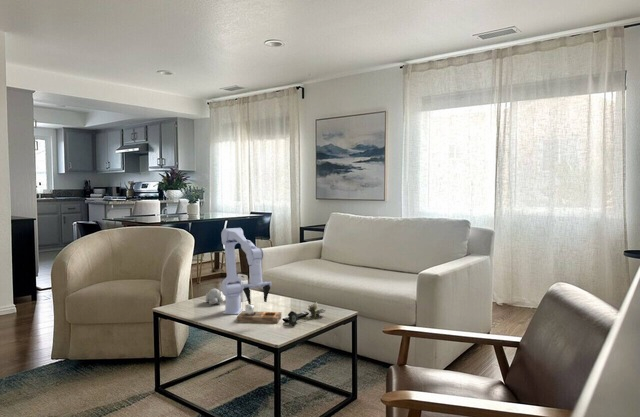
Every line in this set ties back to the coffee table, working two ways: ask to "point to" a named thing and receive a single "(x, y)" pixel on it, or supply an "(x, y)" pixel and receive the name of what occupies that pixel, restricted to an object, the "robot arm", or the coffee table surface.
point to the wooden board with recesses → (260, 317)
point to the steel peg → (249, 309)
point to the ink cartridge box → (244, 281)
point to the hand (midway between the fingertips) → (257, 302)
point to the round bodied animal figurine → (214, 296)
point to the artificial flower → (294, 317)
